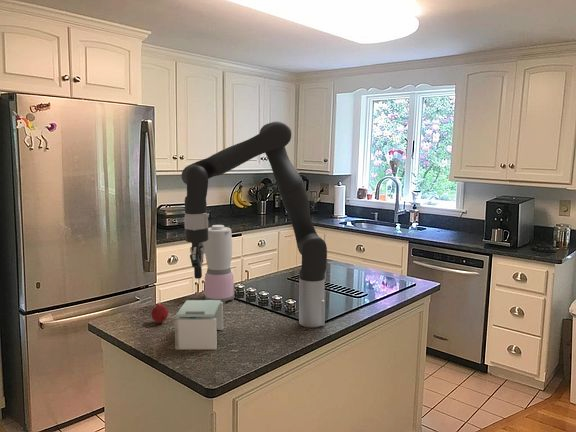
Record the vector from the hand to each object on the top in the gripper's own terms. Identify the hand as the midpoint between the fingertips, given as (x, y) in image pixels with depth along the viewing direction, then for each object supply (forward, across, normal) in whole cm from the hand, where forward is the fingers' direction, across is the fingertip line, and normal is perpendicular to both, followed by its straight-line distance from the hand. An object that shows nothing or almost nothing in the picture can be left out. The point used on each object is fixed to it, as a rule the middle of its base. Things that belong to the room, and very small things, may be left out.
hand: (198, 277), depth 157 cm
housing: (+22, -1, 0) cm, 22 cm away
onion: (+22, -15, -18) cm, 32 cm away
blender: (+22, -43, 0) cm, 48 cm away
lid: (+11, -1, 0) cm, 11 cm away
